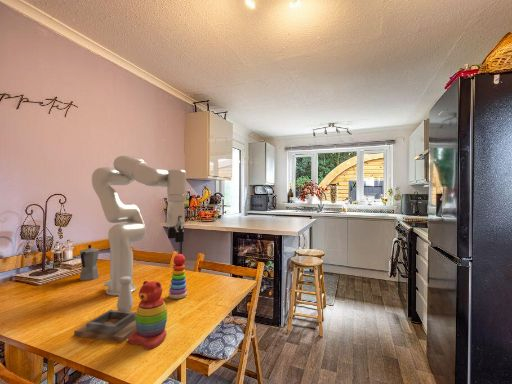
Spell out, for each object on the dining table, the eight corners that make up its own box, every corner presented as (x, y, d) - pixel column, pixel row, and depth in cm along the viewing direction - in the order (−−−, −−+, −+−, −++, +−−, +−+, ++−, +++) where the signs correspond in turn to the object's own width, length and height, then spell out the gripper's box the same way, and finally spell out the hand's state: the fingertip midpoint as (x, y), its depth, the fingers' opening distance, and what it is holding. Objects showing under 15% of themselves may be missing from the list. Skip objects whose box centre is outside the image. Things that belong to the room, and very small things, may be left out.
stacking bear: (124, 342, 82) (125, 284, 82) (149, 327, 91) (150, 275, 92) (151, 350, 78) (151, 289, 78) (174, 334, 87) (175, 279, 87)
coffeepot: (85, 274, 150) (85, 242, 150) (103, 274, 152) (103, 242, 152) (71, 283, 135) (71, 248, 135) (91, 283, 137) (91, 247, 137)
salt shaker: (116, 314, 101) (117, 280, 101) (116, 309, 106) (117, 276, 106) (133, 311, 103) (134, 278, 104) (132, 306, 109) (133, 274, 109)
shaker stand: (74, 335, 86) (74, 323, 86) (102, 318, 97) (102, 307, 97) (123, 342, 82) (123, 329, 82) (146, 324, 94) (146, 312, 94)
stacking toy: (182, 300, 115) (182, 256, 115) (165, 298, 116) (165, 255, 117) (190, 293, 123) (190, 252, 123) (174, 292, 124) (174, 252, 124)
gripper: (161, 198, 116) (160, 237, 116) (173, 199, 102) (172, 244, 102) (178, 198, 121) (177, 236, 121) (192, 199, 106) (191, 242, 106)
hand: (175, 239), depth 111 cm, fingers open, 9 cm apart
